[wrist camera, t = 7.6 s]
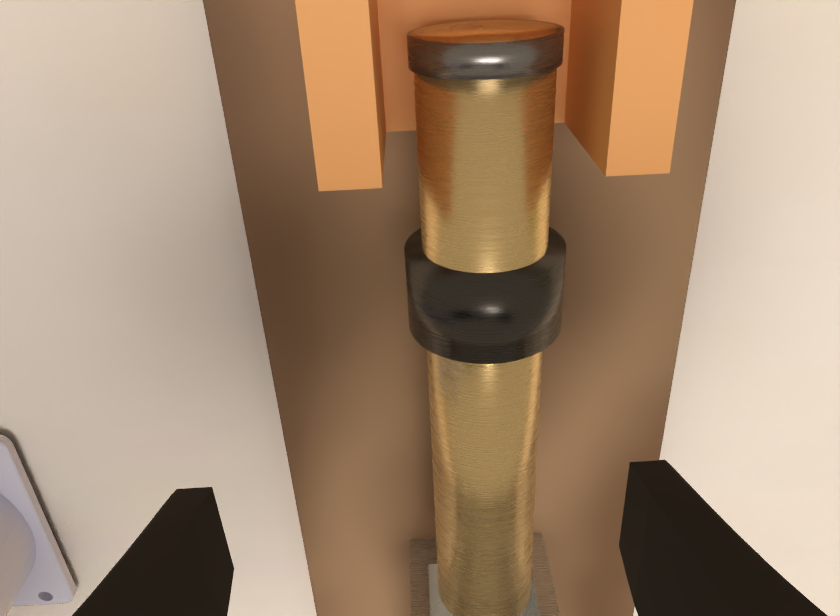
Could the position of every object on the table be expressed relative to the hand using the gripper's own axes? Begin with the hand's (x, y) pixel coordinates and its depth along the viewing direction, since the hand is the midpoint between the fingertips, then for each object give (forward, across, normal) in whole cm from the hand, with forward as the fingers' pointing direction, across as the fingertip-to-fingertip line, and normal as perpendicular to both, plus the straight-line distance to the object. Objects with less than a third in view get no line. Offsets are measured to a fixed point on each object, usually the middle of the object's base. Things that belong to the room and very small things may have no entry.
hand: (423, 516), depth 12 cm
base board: (+9, -2, +2) cm, 10 cm away
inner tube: (+7, -2, +1) cm, 7 cm away
